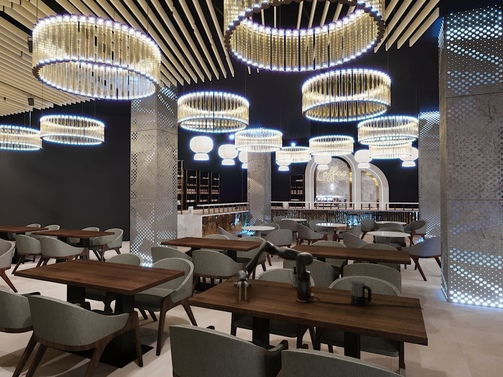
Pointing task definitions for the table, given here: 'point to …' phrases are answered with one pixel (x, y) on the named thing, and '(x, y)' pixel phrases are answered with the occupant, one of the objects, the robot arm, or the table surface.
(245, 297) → the toaster bracket
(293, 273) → the glass holder
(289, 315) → the table surface
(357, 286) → the milk frother
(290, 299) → the table surface
